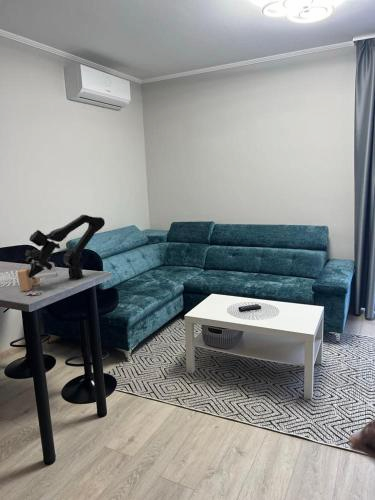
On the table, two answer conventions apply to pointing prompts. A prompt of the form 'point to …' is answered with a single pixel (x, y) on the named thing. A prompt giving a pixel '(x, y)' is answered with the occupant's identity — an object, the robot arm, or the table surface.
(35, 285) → the pintle
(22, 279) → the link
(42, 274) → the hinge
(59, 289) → the table surface
